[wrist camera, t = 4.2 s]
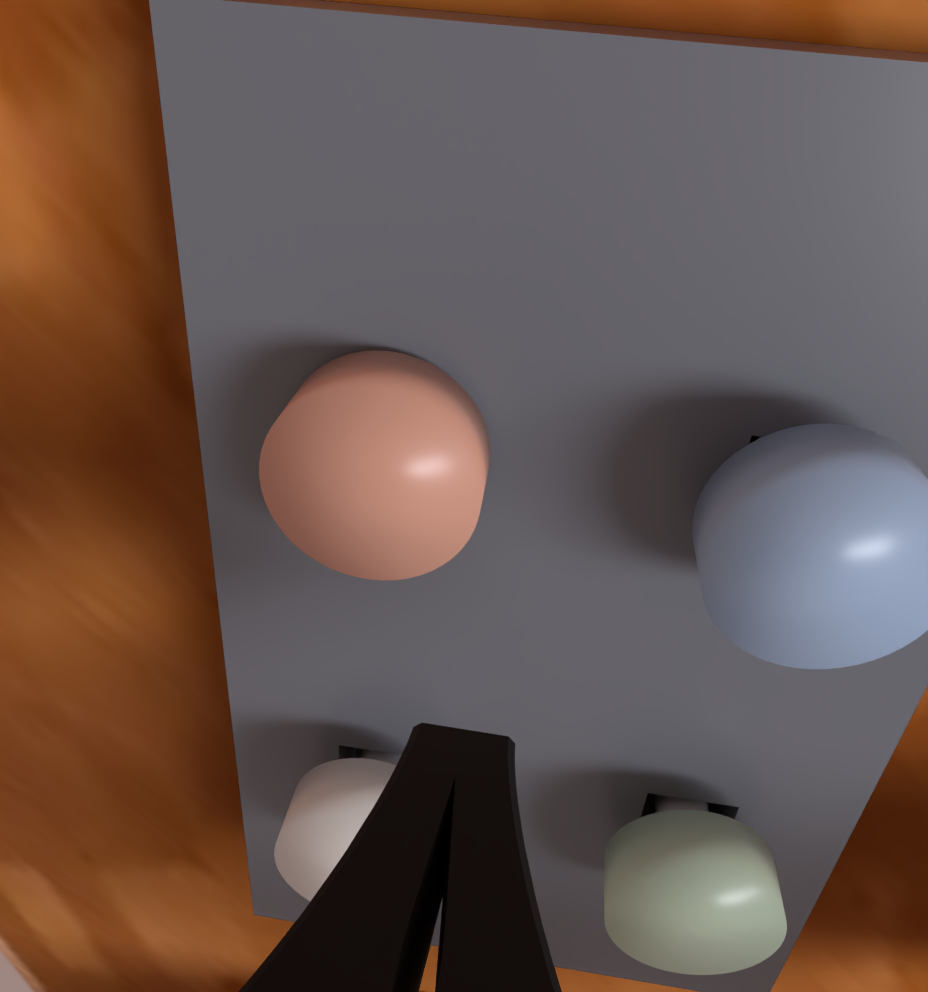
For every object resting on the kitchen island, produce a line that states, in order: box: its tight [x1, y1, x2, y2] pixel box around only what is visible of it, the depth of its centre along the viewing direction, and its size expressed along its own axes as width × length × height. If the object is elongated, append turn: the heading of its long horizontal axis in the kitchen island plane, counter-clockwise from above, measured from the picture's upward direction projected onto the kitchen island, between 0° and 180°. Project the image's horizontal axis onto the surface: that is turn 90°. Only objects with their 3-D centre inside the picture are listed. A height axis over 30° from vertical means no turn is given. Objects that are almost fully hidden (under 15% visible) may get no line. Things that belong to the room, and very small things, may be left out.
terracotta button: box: [259, 350, 491, 581], centre depth 15 cm, size 4×4×4 cm
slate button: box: [692, 423, 928, 669], centre depth 14 cm, size 4×4×4 cm
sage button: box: [604, 794, 787, 975], centre depth 18 cm, size 4×4×4 cm
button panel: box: [149, 0, 928, 992], centre depth 18 cm, size 14×22×2 cm, turn 176°
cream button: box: [274, 749, 401, 901], centre depth 19 cm, size 4×4×4 cm
